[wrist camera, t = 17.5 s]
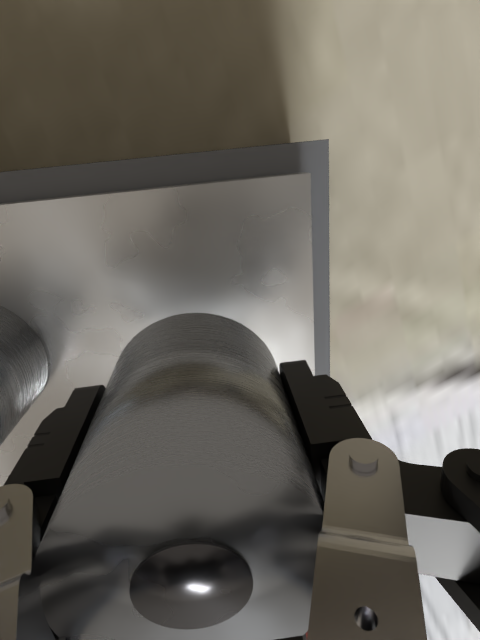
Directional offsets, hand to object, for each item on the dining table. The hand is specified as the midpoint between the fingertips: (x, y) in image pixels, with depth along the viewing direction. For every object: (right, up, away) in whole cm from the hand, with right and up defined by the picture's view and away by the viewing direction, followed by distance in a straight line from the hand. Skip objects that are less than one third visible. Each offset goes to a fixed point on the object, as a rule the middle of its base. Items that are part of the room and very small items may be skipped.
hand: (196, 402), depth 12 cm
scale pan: (-4, +1, +5) cm, 6 cm away
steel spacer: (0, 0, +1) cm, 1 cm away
